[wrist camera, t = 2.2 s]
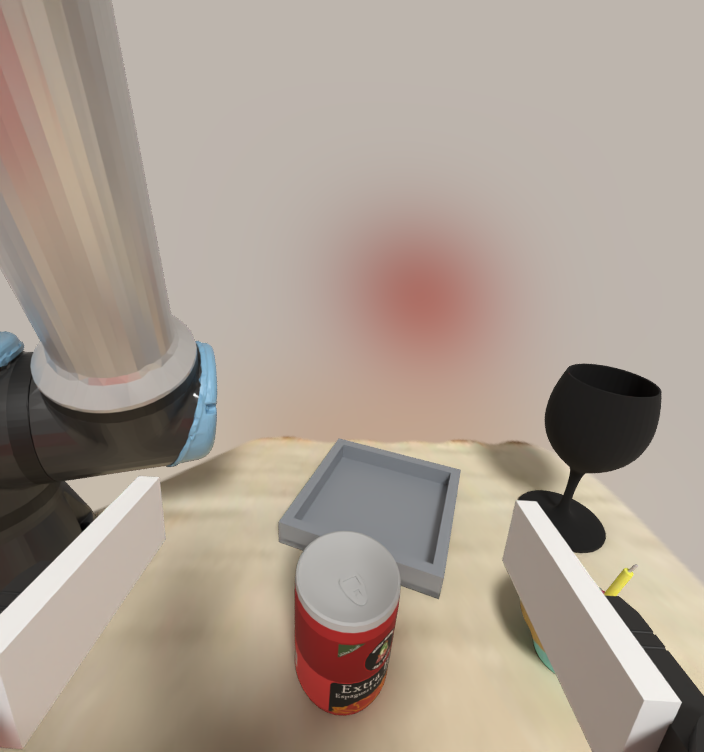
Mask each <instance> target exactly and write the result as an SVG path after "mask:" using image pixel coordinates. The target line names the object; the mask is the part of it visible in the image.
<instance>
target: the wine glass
mask: <svg viewBox="0 0 704 752" xmlns="http://www.w3.org/2000/svg"><path fill="white" fill-rule="evenodd" d="M660 409H661V389H660V388H659V387H658V386H657V385H656V384H654V383H653V382H651V381H649V380H648V379H646V378H644V377H641V376H639V375H636V374H633V373H631V372H628V371H625V370H621V369H617V368H613V367H609V366H603V365H596V364H575V365H572V366H569V367H568V368H567V370H566V371H565V372H564V374H563V375H562V376H561V378H560V379H559V381H558V382H557V384H556V386H555V387H554V389H553V391H552V393H551V395H550V398H549V400H548V404H547V408H546V412H545V428H546V433H547V437H548V439H549V441H550V443H551V446H552V447H553V449H554V450H555V452H556V453H557V454H558V456H559V457H560V458H561V459H562V460H563V461H564V462H565V463H566V464H567V465H568V466H569V467H570V476H569V480H568V483H567V487H566V490H565V492H564V495H562V494H559V493H555V492H550V491H543V490H536V491H530V492H527V493H525V494H523V495H522V496H521V497H520V498H519V500H521V501H536V502H537V503H538V504H539V506H540V507H541V508H542V510H543V511H544V513H545V514H546V515H547V517H548V518H549V519H550V521H551V522H552V524H553V525H554V526H555V528H556V529H557V531H558V532H559V533H560V535H561V536H562V537H563V539H564V540H565V542H566V543H567V544H568V546H569V547H570V548H571V550H572V551H573V552H577V553H589V552H593V551H596V550H598V549H599V548H601V547H602V545H603V544H604V542H605V539H606V533H605V530H604V527H603V525H602V523H601V522H600V521H599V519H598V518H597V517H596V516H595V515H594V514H593V513H592V512H591V511H590V510H589V509H587V508H586V507H585V506H583V505H582V504H580V503H579V502H577V501H575V500H573V499H572V497H573V494H574V492H575V489H576V487H577V485H578V483H579V481H580V479H581V478H582V476H583V475H584V474H586V473H602V472H608V471H613V470H616V469H619V468H622V467H624V466H626V465H628V464H630V463H631V462H633V461H635V460H636V459H637V458H638V457H639V456H640V455H641V454H642V453H643V452H644V451H645V450H646V448H647V447H648V446H649V444H650V442H651V440H652V439H653V437H654V434H655V432H656V429H657V425H658V421H659V416H660Z"/></svg>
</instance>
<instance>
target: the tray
mask: <svg viewBox="0 0 704 752" xmlns="http://www.w3.org/2000/svg"><path fill="white" fill-rule="evenodd" d="M460 471H461V470H459V469H455V468H451V467H448V466H444V465H440V464H436V463H432V462H428V461H424V460H420V459H416V458H413V457H409V456H405V455H401V454H397V453H393V452H389V451H385V450H381V449H378V448H374V447H370V446H366V445H362V444H358V443H354V442H350V441H347V440H343V439H338V440H337V442H336V443H335V445H334V446H333V447H332V449H331V450H330V451H329V453H328V454H327V456H326V457H325V458H324V460H323V461H322V463H321V464H320V465H319V467H318V468H317V470H316V471H315V472H314V474H313V475H312V476H311V478H310V479H309V481H308V482H307V483H306V485H305V486H304V488H303V489H302V490H301V492H300V493H299V495H298V496H297V497H296V499H295V500H294V501H293V503H292V504H291V506H290V507H289V508H288V510H287V511H286V513H285V514H284V515H283V517H282V518H281V519H280V521H279V542H280V543H283V544H286V545H289V546H292V547H294V548H297V549H300V550H303V551H304V550H305V548H306V547H307V546H308V545H309V544H310V543H311V542H312V541H314V540H315V539H317V538H318V537H320V536H322V535H325V534H327V533H331V532H335V531H353V532H358V533H362V534H364V535H367V536H369V537H371V538H373V539H375V540H376V541H378V542H379V543H381V544H382V545H383V546H384V547H385V548H386V549H387V550H388V551H389V552H390V554H391V555H392V556H393V558H394V560H395V561H396V564H397V566H398V569H399V573H400V580H401V583H400V585H401V586H404V587H406V588H409V589H412V590H415V591H418V592H420V593H423V594H426V595H429V596H432V597H434V598H437V599H439V596H440V592H441V588H442V584H443V579H444V573H445V567H446V561H447V554H448V548H449V541H450V535H451V529H452V522H453V516H454V509H455V503H456V497H457V490H458V484H459V478H460Z"/></svg>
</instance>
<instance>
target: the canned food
mask: <svg viewBox="0 0 704 752" xmlns="http://www.w3.org/2000/svg"><path fill="white" fill-rule="evenodd" d="M400 583H401V580H400V573H399V569H398V566H397V564H396V561H395V560H394V558H393V556H392V555H391V554H390V552H389V551H388V550H387V549H386V548H385V547H384V546H383V545H382V544H381V543H379V542H378V541H376V540H375V539H373V538H371V537H369V536H367V535H364V534H362V533H358V532H353V531H335V532H331V533H327V534H325V535H322V536H320V537H318V538H317V539H315V540H314V541H312V542H311V543H310V544H309V545H308V546H307V547H306V548H305V550H304V551H303V553H302V554H301V556H300V558H299V561H298V564H297V569H296V576H295V664H296V671H297V675H298V679H299V681H300V684H301V686H302V688H303V690H304V691H305V693H306V694H307V696H308V697H309V698H310V700H311V701H312V702H313V703H314V704H315V705H316V706H318V707H319V708H320V709H322V710H324V711H326V712H328V713H331V714H334V715H350V714H355V713H357V712H359V711H361V710H363V709H364V708H366V707H367V706H368V705H369V704H370V703H371V702H373V700H374V699H375V698H376V697H377V695H378V694H379V693H380V691H381V689H382V687H383V685H384V681H385V678H386V674H387V668H388V663H389V657H390V652H391V646H392V640H393V635H394V629H395V623H396V618H397V612H398V606H399V599H400V588H401V585H400Z"/></svg>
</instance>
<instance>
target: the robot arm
mask: <svg viewBox="0 0 704 752" xmlns="http://www.w3.org/2000/svg"><path fill="white" fill-rule="evenodd" d="M0 269H1V271H2V272H3V274H4V276H5V278H6V280H7V281H8V283H9V285H10V287H11V289H12V291H13V292H14V294H15V296H16V298H17V300H18V301H19V303H20V305H21V307H22V309H23V310H24V312H25V314H26V316H27V318H28V319H29V321H30V323H31V325H32V327H33V328H34V330H35V332H36V334H37V336H38V337H39V339H40V342H39V344H38V345H37V347H36V348H35V350H34V352H25V351H23V350H24V349H23V348H24V344H23V342H21V341H20V340H19V339H18V338H17V336H16V335H14V334H12V333H10V332H6V331H5V332H0V748H12V749H23V748H24V747H25V745H26V744H27V742H28V741H29V739H30V738H31V736H32V735H33V733H34V732H35V730H36V729H37V727H38V726H39V724H40V723H41V722H42V720H43V719H44V717H45V716H46V714H47V713H48V711H49V710H50V708H51V707H52V705H53V704H54V702H55V701H56V700H57V698H58V697H59V695H60V694H61V692H62V691H63V689H64V688H65V686H66V685H67V683H68V682H69V680H70V679H71V678H72V676H73V675H74V673H75V672H76V670H77V669H78V667H79V666H80V664H81V663H82V661H83V660H84V658H85V657H86V655H87V654H88V653H89V651H90V650H91V648H92V647H93V645H94V644H95V642H96V641H97V639H98V638H99V636H100V635H101V633H102V632H103V631H104V629H105V628H106V626H107V625H108V623H109V622H110V620H111V619H112V617H113V616H114V614H115V613H116V611H117V610H118V609H119V607H120V606H121V604H122V603H123V601H124V600H125V598H126V597H127V595H128V594H129V592H130V591H131V589H132V588H133V586H134V585H135V584H136V582H137V581H138V579H139V578H140V576H141V575H142V573H143V572H144V570H145V569H146V567H147V566H148V564H149V563H150V562H151V560H152V559H153V557H154V556H155V554H156V553H157V551H158V550H159V548H160V547H161V545H162V544H163V542H164V541H165V540H166V535H165V525H164V516H163V506H162V496H161V486H160V478H159V477H148V476H138V477H137V478H136V479H135V480H134V481H133V482H132V483H131V484H130V485H129V486H128V487H127V488H126V489H125V490H124V491H123V492H122V493H121V494H120V495H119V496H118V497H117V498H116V499H115V500H114V501H113V502H112V503H111V504H110V505H109V506H108V507H107V508H106V509H105V510H104V511H103V512H102V513H101V514H100V515H99V516H98V517H97V518H96V517H95V515H94V513H93V511H92V510H91V508H90V507H89V506H88V505H87V504H86V503H85V502H84V501H83V500H82V499H81V498H80V497H79V496H78V495H77V493H76V492H75V491H74V490H73V489H72V488H71V487H70V486H69V485H68V484H67V483H66V482H65V481H66V480H74V479H80V478H87V477H93V476H99V475H106V474H113V473H120V472H126V471H133V470H140V469H147V468H154V467H161V466H166V467H174V466H176V465H178V464H179V463H184V462H189V461H194V460H198V459H201V458H203V457H205V456H206V455H207V454H208V453H209V452H210V451H211V449H212V447H213V444H214V440H215V433H216V421H217V417H216V416H217V412H216V404H217V403H216V402H217V401H216V399H217V377H216V363H215V356H214V352H213V349H212V347H211V346H210V345H209V344H207V343H201V342H199V341H195V339H194V337H193V334H192V332H191V330H190V329H189V328H188V327H187V325H185V324H184V323H183V322H182V321H181V320H179V319H178V318H177V317H175V316H173V315H171V311H170V305H169V300H168V295H167V290H166V285H165V279H164V274H163V268H162V263H161V258H160V253H159V247H158V242H157V237H156V232H155V226H154V221H153V216H152V211H151V206H150V200H149V195H148V190H147V184H146V179H145V174H144V168H143V163H142V158H141V153H140V147H139V142H138V138H137V132H136V127H135V121H134V116H133V111H132V106H131V101H130V95H129V89H128V84H127V79H126V74H125V68H124V63H123V58H122V53H121V48H120V42H119V37H118V32H117V26H116V21H115V16H114V11H113V5H112V0H0ZM502 561H503V563H504V565H505V568H506V570H507V572H508V574H509V576H510V578H511V580H512V582H513V585H514V587H515V589H516V591H517V593H518V595H519V597H520V599H521V602H522V604H523V606H524V608H525V610H526V612H527V614H528V616H529V619H530V621H531V623H532V625H533V627H534V629H535V631H536V633H537V636H538V638H539V640H540V642H541V644H542V646H543V648H544V650H545V653H546V655H547V657H548V659H549V661H550V663H551V665H552V667H553V670H554V672H555V674H556V676H557V678H558V680H559V682H560V684H561V687H562V689H563V691H564V693H565V695H566V697H567V699H568V701H569V704H570V706H571V708H572V710H573V712H574V714H575V716H576V718H577V721H578V723H579V725H580V727H581V729H582V731H583V733H584V735H585V738H586V740H587V742H588V744H589V746H590V748H591V750H592V752H704V696H703V694H702V693H701V692H700V691H699V689H698V688H697V687H696V685H695V684H694V683H693V682H692V680H691V679H690V678H689V677H688V675H687V674H686V673H685V671H684V670H683V669H682V668H681V666H680V665H679V664H678V663H677V661H676V660H675V659H674V657H673V656H672V655H671V654H670V652H669V651H666V649H665V646H664V645H663V643H662V642H661V641H660V640H659V638H658V637H657V636H656V635H654V634H653V631H652V629H651V628H650V627H649V626H648V624H647V623H646V622H645V620H644V619H643V618H642V617H641V615H640V614H639V613H638V612H637V611H636V610H635V609H633V608H632V607H631V606H630V605H629V604H627V603H626V602H625V601H624V600H623V599H622V598H620V597H619V596H606V595H604V594H603V593H602V591H601V590H600V589H599V587H598V586H597V584H596V583H595V582H594V580H593V579H592V578H591V576H590V575H589V573H588V572H587V571H586V569H585V568H584V566H583V565H582V564H581V562H580V561H579V560H578V558H577V557H576V555H575V554H574V553H573V551H572V550H571V548H570V547H569V546H568V544H567V543H566V542H565V540H564V539H563V537H562V536H561V535H560V533H559V532H558V531H557V529H556V528H555V526H554V525H553V524H552V522H551V521H550V519H549V518H548V517H547V515H546V514H545V513H544V511H543V510H542V508H541V507H540V506H539V504H538V503H537V502H536V501H521V500H516V502H515V506H514V510H513V515H512V519H511V524H510V528H509V533H508V537H507V542H506V546H505V550H504V555H503V559H502Z"/></svg>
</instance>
